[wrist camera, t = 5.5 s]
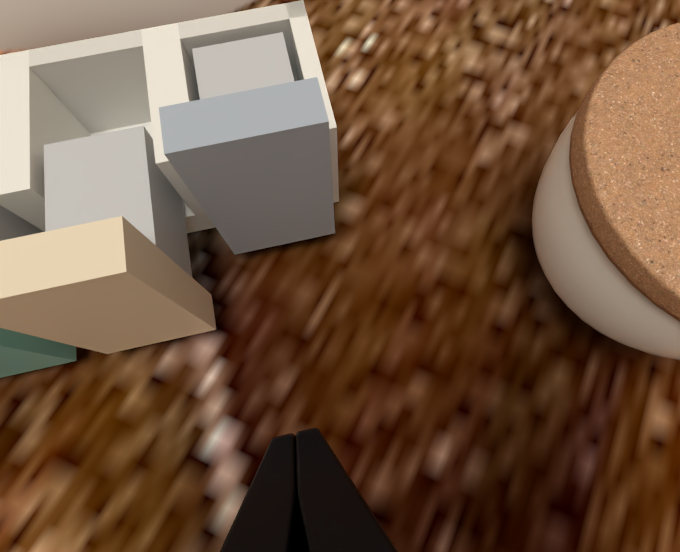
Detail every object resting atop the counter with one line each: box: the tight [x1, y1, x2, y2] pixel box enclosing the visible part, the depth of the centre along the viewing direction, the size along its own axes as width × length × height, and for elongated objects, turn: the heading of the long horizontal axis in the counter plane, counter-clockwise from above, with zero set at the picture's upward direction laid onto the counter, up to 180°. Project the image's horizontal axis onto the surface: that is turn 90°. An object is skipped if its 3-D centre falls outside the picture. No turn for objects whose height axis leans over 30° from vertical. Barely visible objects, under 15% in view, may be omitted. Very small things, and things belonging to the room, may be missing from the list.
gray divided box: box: [0, 0, 339, 233], centre depth 18 cm, size 6×17×6 cm, turn 103°
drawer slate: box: [159, 32, 335, 255], centre depth 16 cm, size 7×4×8 cm, turn 13°
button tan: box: [0, 126, 216, 354], centre depth 15 cm, size 7×4×8 cm, turn 13°
